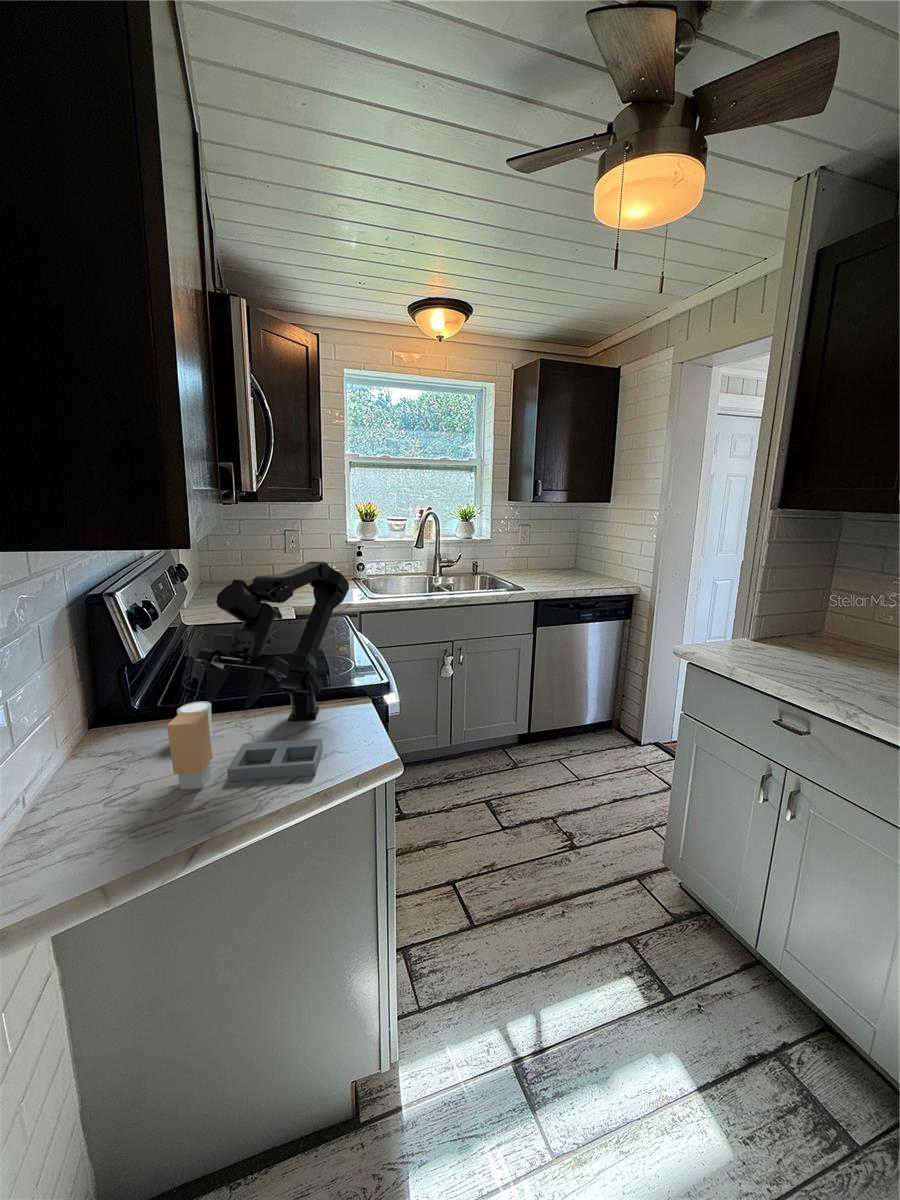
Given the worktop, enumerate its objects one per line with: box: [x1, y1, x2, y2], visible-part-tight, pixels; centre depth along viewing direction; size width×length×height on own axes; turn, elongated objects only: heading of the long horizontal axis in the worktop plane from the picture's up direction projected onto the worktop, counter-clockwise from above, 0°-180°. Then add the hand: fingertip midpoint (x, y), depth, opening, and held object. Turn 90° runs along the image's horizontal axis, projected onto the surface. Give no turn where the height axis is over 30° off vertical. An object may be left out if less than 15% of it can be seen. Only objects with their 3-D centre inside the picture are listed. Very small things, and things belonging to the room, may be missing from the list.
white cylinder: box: [176, 701, 213, 737], centre depth 108 cm, size 7×7×7 cm
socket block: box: [226, 738, 324, 783], centre depth 97 cm, size 10×16×2 cm, turn 97°
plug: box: [166, 712, 214, 790], centre depth 90 cm, size 5×5×13 cm
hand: (227, 703), depth 94 cm, fingers open, 9 cm apart
